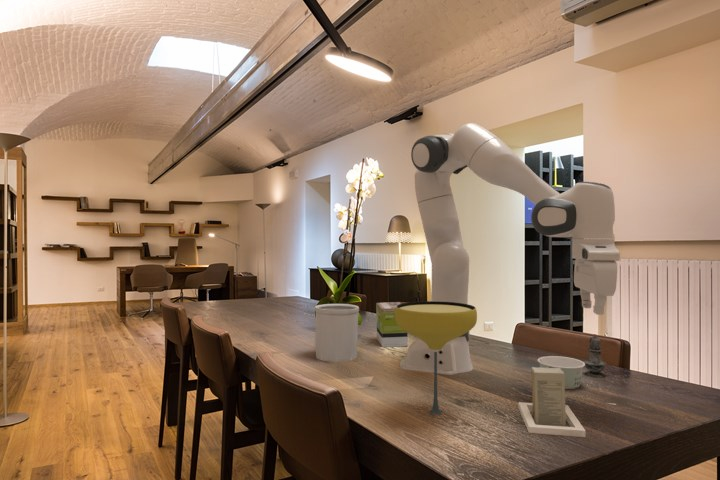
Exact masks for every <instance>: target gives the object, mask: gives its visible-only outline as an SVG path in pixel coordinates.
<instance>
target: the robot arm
mask: <svg viewBox="0 0 720 480" xmlns="http://www.w3.org/2000/svg"><path fill="white" fill-rule="evenodd" d="M410 154H411V157H410V158H411V161H412V164H413V166H414V168H415V169H416V171H415V172H414V189H415V190H414V191H415V196H416V202H417V205H418V210H419V214H420V218H421V224H422V228H423V232H424V237H425V241H426V245H427V249H428V254H429V257H430V261H431V295H430V296H431V301H439V302H455V303H463V304H468V301H469V299H468V297H469V296H468V293H469V281H470V279H469V278H470V277H469V276H470V257H469V253H468V252H467V250H466V248H465V247H464V244H463V239H462V234H461V233H462V232H461V228H460V220H459V216H458V212H457V208H456V204H455V199H454V196H453V191H452V187H451V183H450V179H451V176H452V174H454V175H458V174H460V173H461V172H462V171H463V170H465V169H466V168H469V170H470V171H472V172H473V173H474V174H475V175H476V176H477V177H478V178H481V179H482V180H483V181H486V182H487V183H488V184H491V185H493V186H498V187H502V188H504V189H508V190H511V191H514V192H516V193H518V194H521V195H522V196H524V197H525V198H527V200H529V201H530V202H531V203H532V204H534V207H533V209H532V211H531V215H530V217H531V219H530V221H531V224H532V226H533V228H534V230H535V231H536V232H537V233H538V234H540V235H542V236H544V237H545V236H546V237H549V238H564V239H569V240H570V239H571V240H572V244H571V247H572V248H571V252H572V253H571V258H572V259H574V270H573V283H574V286H575V287H576V288H578V289H579V292H580V297H581V307H582V308H584V309H591V308H592V300H591V294H593V296H594V305H593V309H592V311H593V314H595V315H600V316H602V315H604V314H605V305H606V302H607V297H612V296H614V295H615V293H616V289H617V281H618V263H617V262H619V261H620V259H621V253H620V250H619V249H618V248H617V247H616V243H615V239H616V238H615V237H616V236H615V234H614V228H613V227H614V224H615V221H616V218H615V217H616V209H615V208H616V207H615V198H614V197H615V196H614V193H613V190H612V188H611V187H610V186H609V185H607V184H605V183H599V182H594V181H579V182H577V183H575V184H573V186H572V187H570V188H569V189H566V190H565V191H564V192H559V191H558V190H557V189H556V188H554V187H553V186H552V185H550V184H549V183H548V182H546V181H545V180H544V179H542V177H540V176H539V175H538V174H536V173H535V172H534V171H533V170H532V169H531V168H530V167H529V166H528V165H527V164H526V163H525V162H524V161H523V160H522V159H521V158H520V157H519V156H518V155H517V154H516V153H515V152H514V150H513V149H511V147H509V146H508V145H507V144H506V143H505V142H504V141H503V140H502V139H500V138H499V137H498V136H497V135H496V134H494V133H493V132H491V131H490V130H488V129H487V128H485V127H483V126H482V125H480V124H478V123H475V122H467V123H465V124H463V125H461V126H459V128H457V130H456V131H455V132H454V133H441V134H435V135H426V136H424V137H421V138H419V139H417V140H416V141H415V143H414V144H413V145H412V147H411V152H410ZM468 305H469V304H468ZM469 341H470V331H469V332H467V333H465V334H463V335H462V336H459V337H457V338H455V339H453V340H451V341H449V342H447V343H446V344H445V345H444V346H443V348H442V349H441V350H440V351H439V352H437V375H439V374H441V375H447V376H452V375H456V374H460V373H467V372H471V371H473V370H474V365H473V364H472V359H471V354H470V353H471V352H470V347H469V346H470V345H469ZM399 367H400V369H401V370H403V371H404V370H405V371H413V372H420V373H430V374H434V352H433V351H431V350H430V348H429V347H428V345H427V344H426V343H425V342H424V341H422V340H420V339H419V338H417V339H416V340H415V341H413V342H412V343H411V344H410V345H409V347H408V349H407V352H406V357H404V358H402V359H401V360H400V362H399Z"/></svg>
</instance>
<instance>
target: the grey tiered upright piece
mask: <svg viewBox="0 0 720 480" xmlns="http://www.w3.org/2000/svg"><path fill="white" fill-rule="evenodd" d="M587 349H588V355H589V356H588V359H586V360H584V361H583V362H584V363H585V366H584V367H585V368H586V369H587V370H588V371H585V373H584V375H585V376H589V377H592V378H604V377H606V375H605V374H604V373H603V371H604V370H605V367H606V365H607V363H606V362H605V361H603V360H602V357H601V356H602V354H601V353H602V351H603V350H602V349H601V339H600V338H599V337H597V335H596V333H594V334H593V336H592V337H590V338H589V348H587Z"/></svg>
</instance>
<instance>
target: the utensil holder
mask: <svg viewBox="0 0 720 480" xmlns="http://www.w3.org/2000/svg"><path fill="white" fill-rule="evenodd" d="M314 311H315V358H316V359H317V360H319V361H323V362H331V363H334V362H335V363H338V362H339V363H342V362H349V361H354V360H357V357H358V338H359V337H358V335H359V333H358V331H359V312H360V307H359V305H355V304H351V303H350V304H349V303H324V304H318V305H315V307H314Z"/></svg>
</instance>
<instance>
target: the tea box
mask: <svg viewBox="0 0 720 480" xmlns="http://www.w3.org/2000/svg"><path fill="white" fill-rule="evenodd" d="M399 304H402V303H401V302H400V301H396V302H395V301H394V302H393V301H391V302H389V301H388V302H376V303H375V310H376V315H375V316H376V317H375V318H376V340H378V342H379V344H380V346H381V347H382V348H398V347H399V348H400V347H408V345H409V343H408V342H409V340H408V339H409V337H408V334H409V333H407V332H406V331H404V330H403V329H402V328H401V327H400V326H399V325H398V324H397V322H396V319H395V310H396V306H397V305H399Z"/></svg>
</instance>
